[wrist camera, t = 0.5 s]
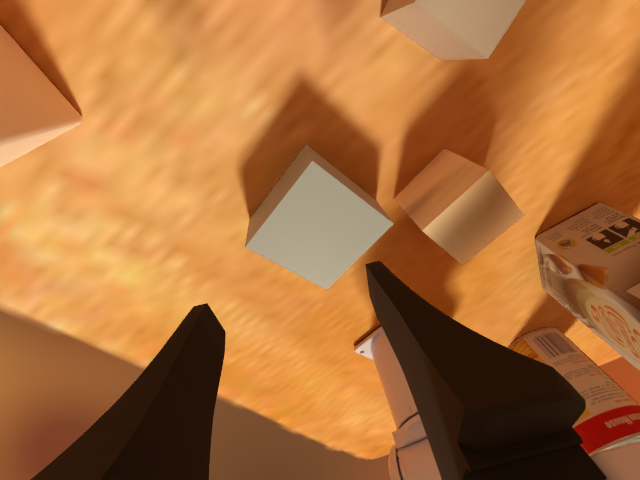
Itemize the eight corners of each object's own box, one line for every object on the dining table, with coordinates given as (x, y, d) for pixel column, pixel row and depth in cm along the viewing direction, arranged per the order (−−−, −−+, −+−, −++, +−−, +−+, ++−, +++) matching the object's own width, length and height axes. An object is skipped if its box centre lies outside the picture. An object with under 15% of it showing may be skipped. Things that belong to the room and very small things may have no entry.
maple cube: (476, 187, 22) (524, 215, 18) (428, 229, 23) (462, 265, 19) (443, 147, 19) (489, 170, 15) (393, 198, 21) (421, 230, 17)
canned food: (502, 368, 39) (579, 471, 29) (505, 339, 35) (597, 448, 25) (555, 351, 39) (652, 450, 29) (565, 319, 34) (683, 422, 25)
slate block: (375, 198, 21) (393, 223, 18) (319, 258, 24) (326, 289, 20) (305, 142, 18) (312, 160, 15) (249, 217, 20) (245, 247, 17)
